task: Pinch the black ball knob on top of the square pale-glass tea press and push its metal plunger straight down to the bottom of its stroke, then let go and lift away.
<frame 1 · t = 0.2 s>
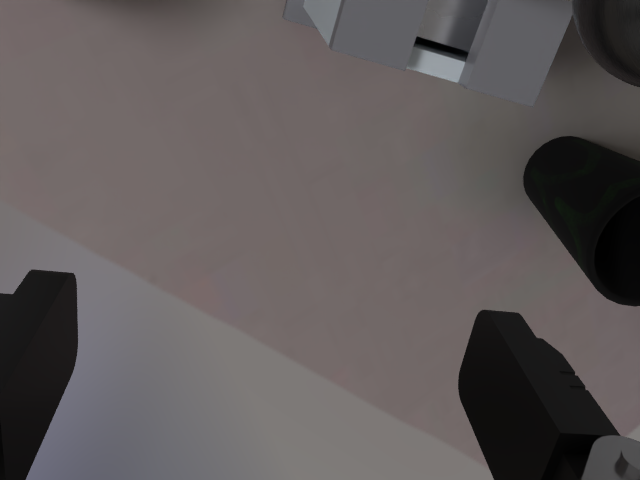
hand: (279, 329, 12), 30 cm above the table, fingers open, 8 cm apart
cup: (559, 172, 44), on the table
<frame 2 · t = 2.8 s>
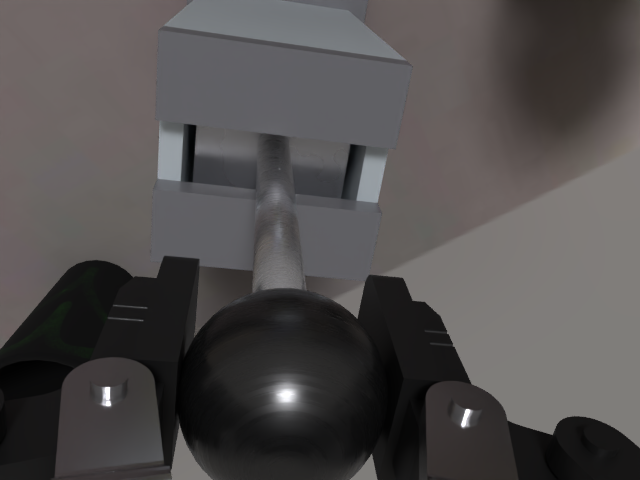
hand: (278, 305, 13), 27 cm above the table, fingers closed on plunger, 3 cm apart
slotted square pillar: (270, 68, 37), on the table
plunger: (276, 230, 16), point 23 cm above the table, slide at 0.0 cm, touching gripper
cup: (100, 293, 43), on the table
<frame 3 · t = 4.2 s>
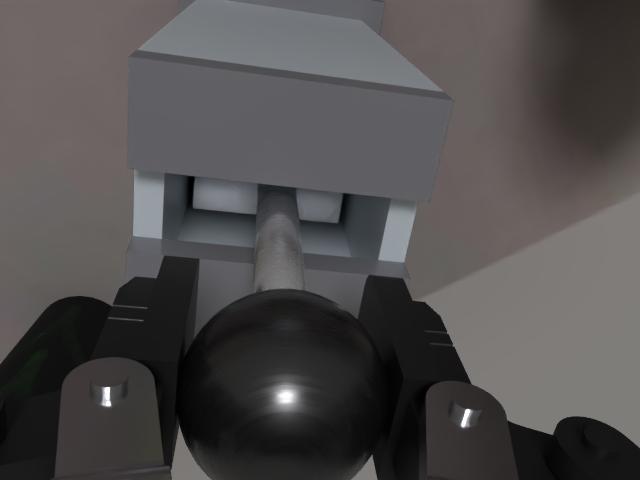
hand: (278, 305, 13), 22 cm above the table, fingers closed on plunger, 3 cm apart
slotted square pillar: (273, 85, 33), on the table
plunger: (277, 231, 16), point 18 cm above the table, slide at 4.7 cm, touching gripper
cup: (84, 332, 39), on the table
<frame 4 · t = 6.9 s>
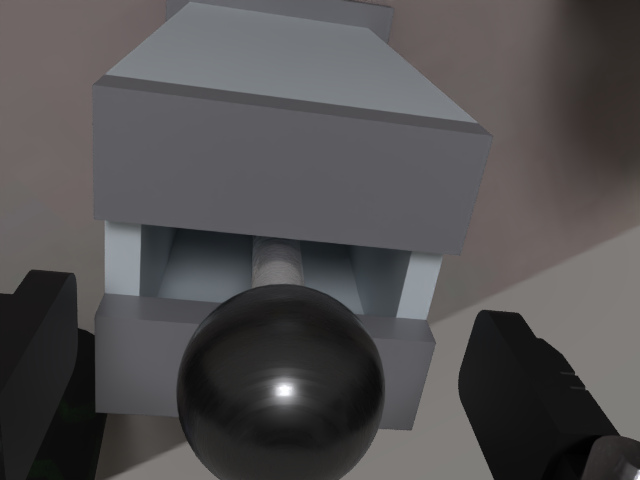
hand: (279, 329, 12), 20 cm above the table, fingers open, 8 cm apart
slotted square pillar: (270, 98, 30), on the table
plunger: (275, 228, 17), point 15 cm above the table, slide at 8.0 cm
cup: (67, 363, 36), on the table
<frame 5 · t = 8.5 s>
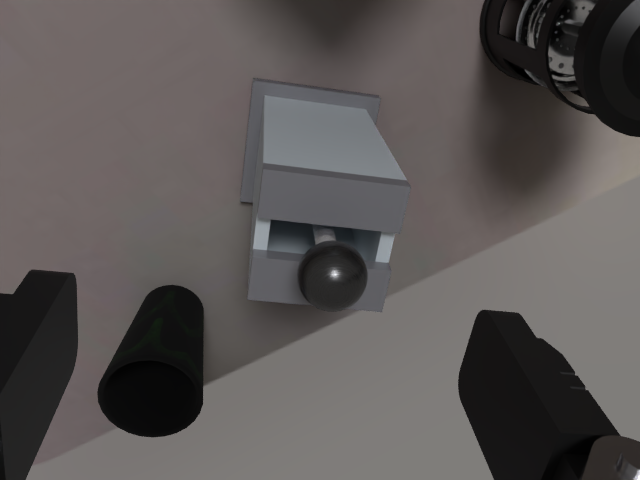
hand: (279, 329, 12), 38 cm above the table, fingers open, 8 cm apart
slotted square pillar: (307, 147, 50), on the table
french press: (537, 11, 47), on the table
plunger: (322, 222, 37), point 15 cm above the table, slide at 8.0 cm
cup: (173, 310, 56), on the table
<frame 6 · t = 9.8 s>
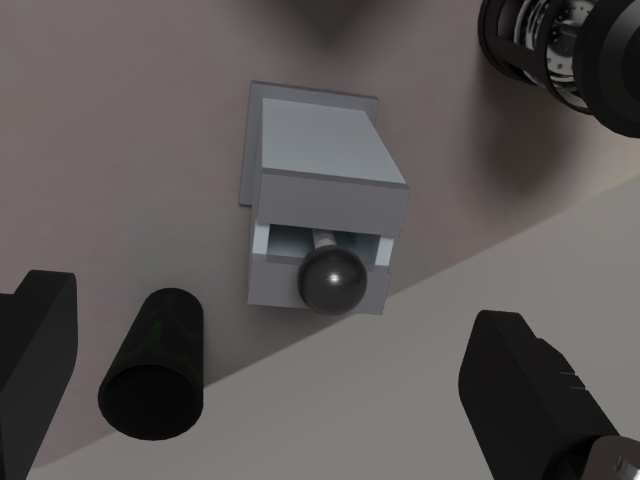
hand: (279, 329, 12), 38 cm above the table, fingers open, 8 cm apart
slotted square pillar: (306, 149, 50), on the table
french press: (535, 11, 47), on the table
plunger: (321, 226, 37), point 15 cm above the table, slide at 8.0 cm
cup: (172, 312, 56), on the table
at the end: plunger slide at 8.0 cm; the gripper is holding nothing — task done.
